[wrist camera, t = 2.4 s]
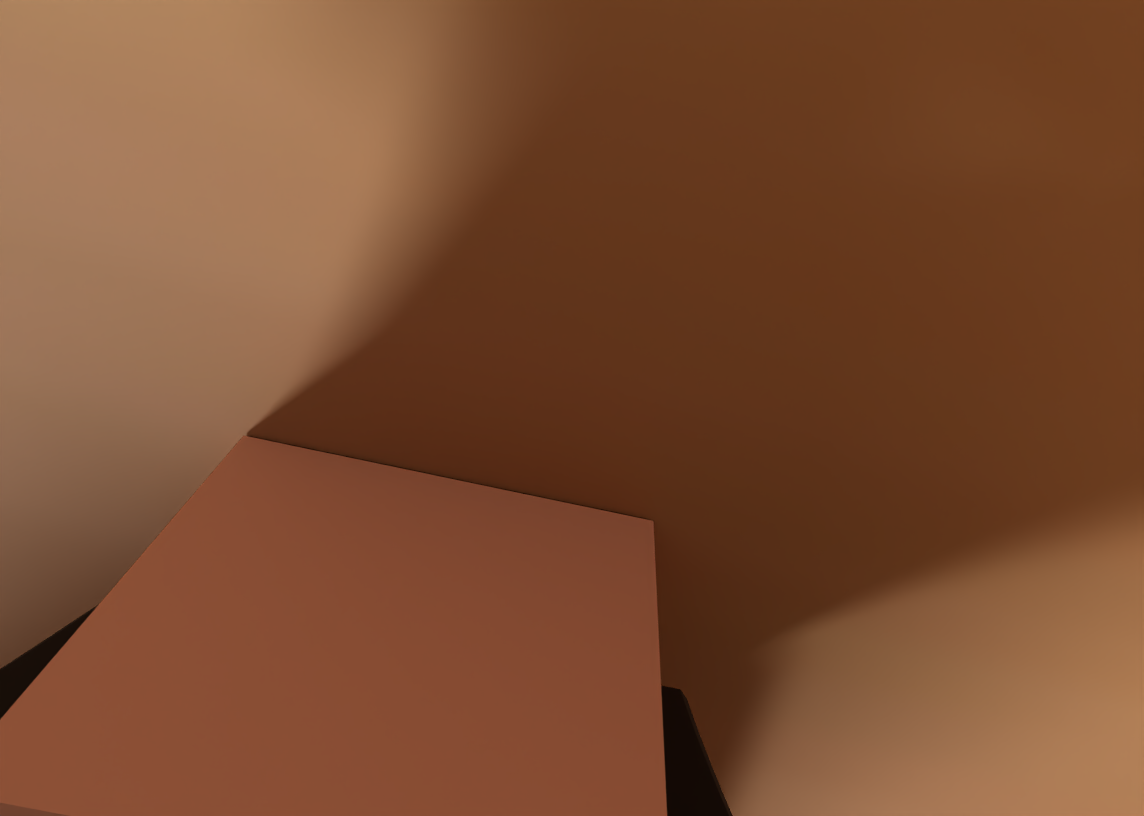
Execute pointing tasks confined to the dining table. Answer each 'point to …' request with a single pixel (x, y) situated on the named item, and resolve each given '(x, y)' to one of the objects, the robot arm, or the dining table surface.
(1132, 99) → the dining table surface
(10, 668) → the robot arm
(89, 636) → the stub
